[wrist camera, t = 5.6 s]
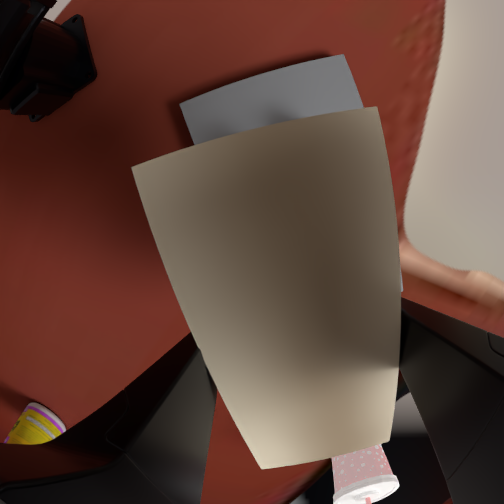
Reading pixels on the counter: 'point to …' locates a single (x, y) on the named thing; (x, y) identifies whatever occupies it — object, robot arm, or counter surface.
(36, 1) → the robot arm
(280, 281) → the shelf board
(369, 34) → the counter surface
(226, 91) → the peg stand
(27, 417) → the supplement bottle
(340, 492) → the beverage cup
